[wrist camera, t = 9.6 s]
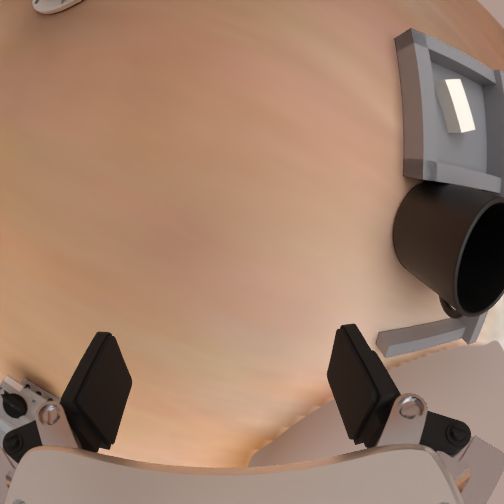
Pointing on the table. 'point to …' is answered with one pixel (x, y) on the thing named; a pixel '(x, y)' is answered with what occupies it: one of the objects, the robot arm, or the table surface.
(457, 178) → the organizer
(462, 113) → the eraser
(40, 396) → the circuit breaker
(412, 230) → the mug
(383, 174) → the table surface
